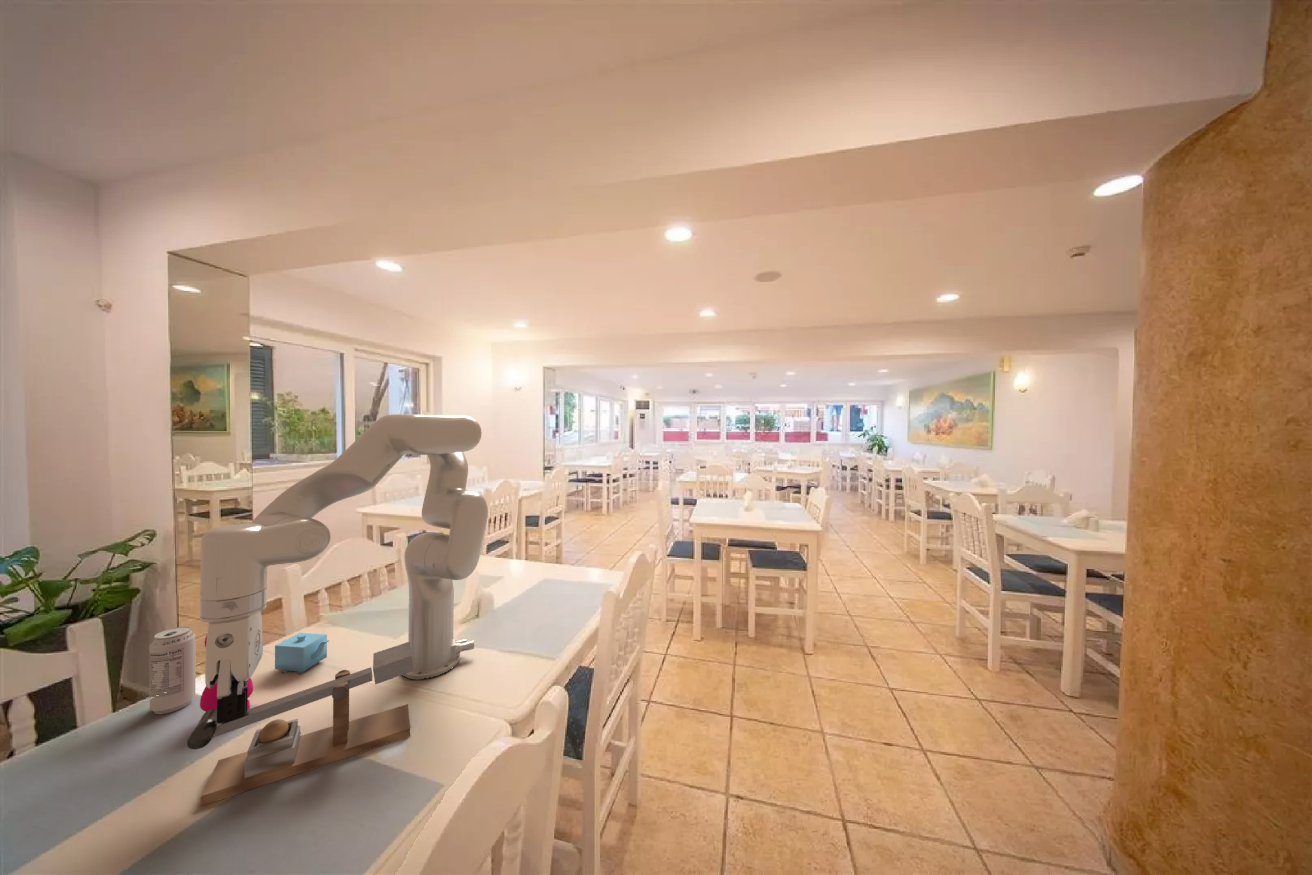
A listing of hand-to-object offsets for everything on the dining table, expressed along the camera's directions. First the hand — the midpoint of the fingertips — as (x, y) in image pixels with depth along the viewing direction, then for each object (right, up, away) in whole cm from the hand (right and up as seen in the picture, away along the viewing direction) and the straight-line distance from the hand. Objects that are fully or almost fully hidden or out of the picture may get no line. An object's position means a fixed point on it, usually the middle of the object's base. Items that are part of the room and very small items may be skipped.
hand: (232, 717), depth 67 cm
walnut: (+4, -5, +3) cm, 7 cm away
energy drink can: (-29, -10, +17) cm, 35 cm away
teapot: (-15, -10, +32) cm, 36 cm away
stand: (+9, -10, +6) cm, 15 cm away
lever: (+9, -1, +6) cm, 10 cm away
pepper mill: (-16, -10, +14) cm, 23 cm away
